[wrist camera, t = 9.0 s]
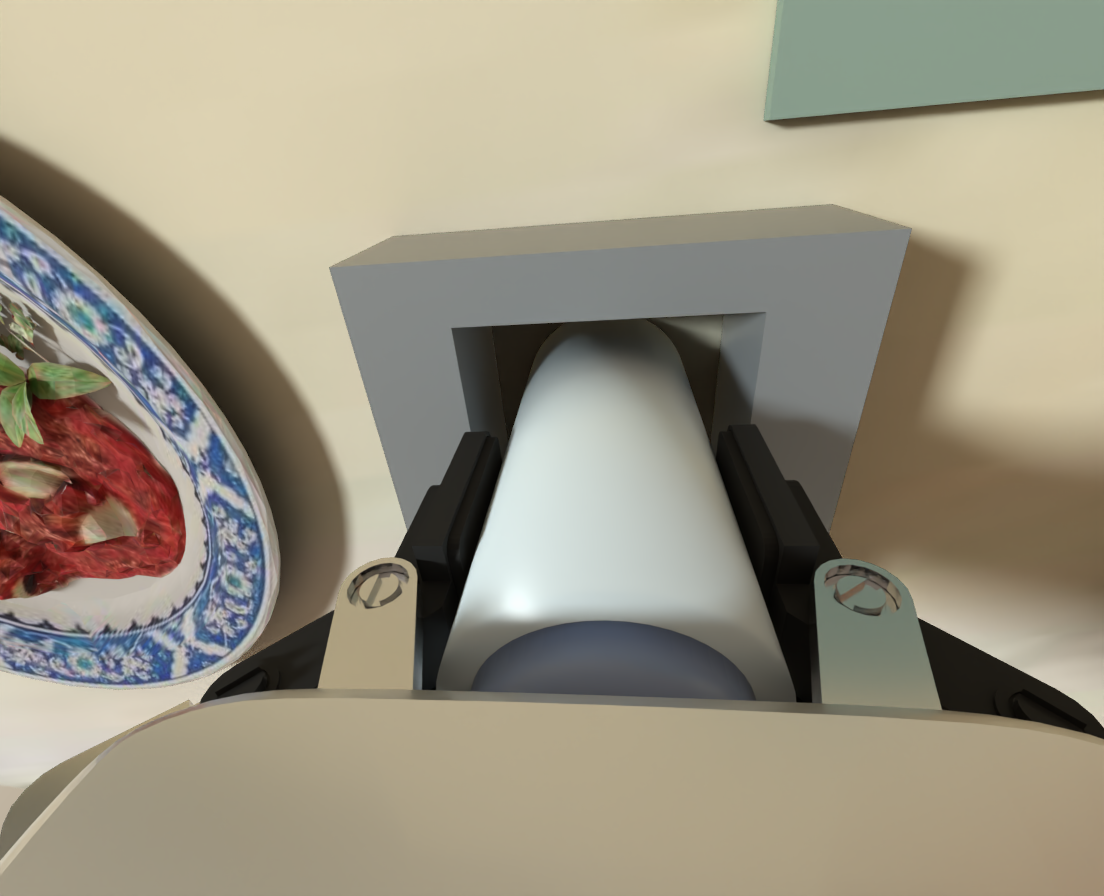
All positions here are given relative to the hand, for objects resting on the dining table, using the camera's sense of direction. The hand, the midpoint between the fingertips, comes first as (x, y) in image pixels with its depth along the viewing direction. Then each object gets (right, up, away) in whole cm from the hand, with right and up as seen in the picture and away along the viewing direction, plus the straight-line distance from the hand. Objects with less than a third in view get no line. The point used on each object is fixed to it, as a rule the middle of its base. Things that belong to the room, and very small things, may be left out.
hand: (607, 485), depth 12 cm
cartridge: (0, +3, +5) cm, 5 cm away
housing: (+1, 0, +6) cm, 6 cm away
